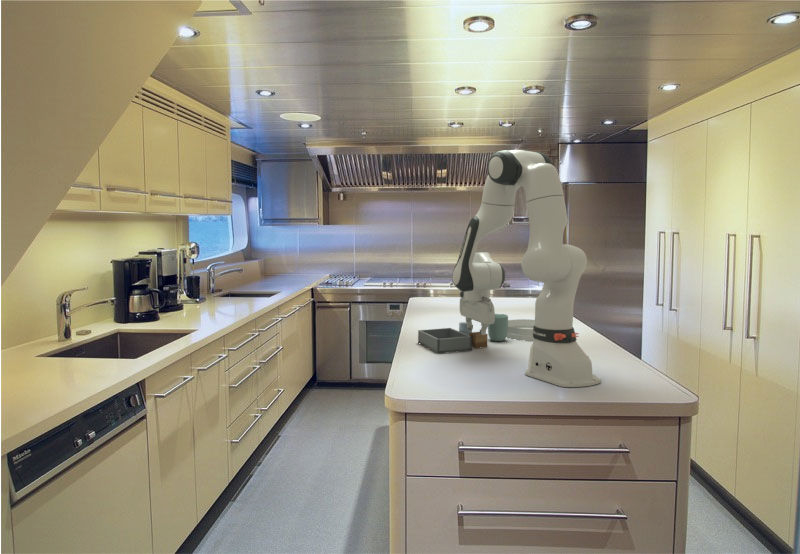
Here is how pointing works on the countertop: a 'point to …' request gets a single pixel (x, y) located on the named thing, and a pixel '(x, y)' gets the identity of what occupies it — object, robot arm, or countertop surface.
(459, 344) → the tote
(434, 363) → the countertop surface
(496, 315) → the cup
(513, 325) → the dish
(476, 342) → the walnut cube
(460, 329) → the blue cylinder
